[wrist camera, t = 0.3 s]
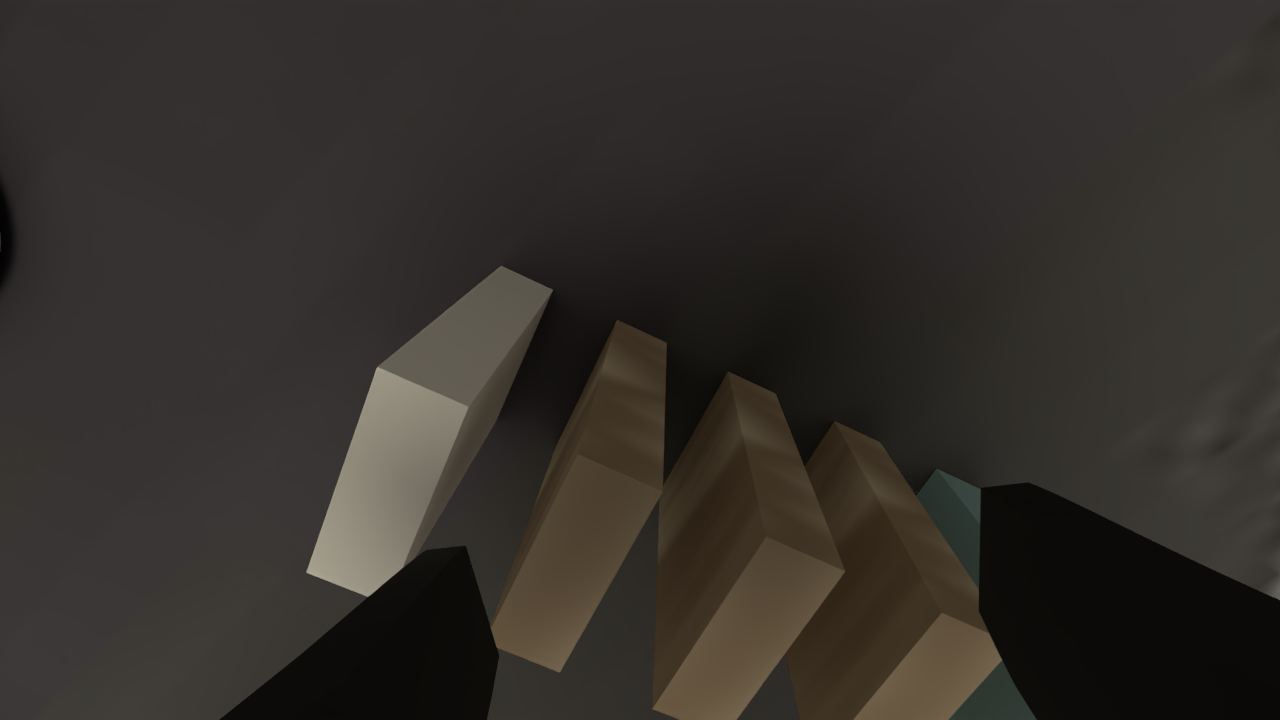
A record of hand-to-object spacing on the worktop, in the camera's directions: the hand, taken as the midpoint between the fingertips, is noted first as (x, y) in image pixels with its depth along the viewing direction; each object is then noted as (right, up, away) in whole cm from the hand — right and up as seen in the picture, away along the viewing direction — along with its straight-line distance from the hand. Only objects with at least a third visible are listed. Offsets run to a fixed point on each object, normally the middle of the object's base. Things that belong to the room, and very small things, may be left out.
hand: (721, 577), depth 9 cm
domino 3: (+1, 0, +10) cm, 11 cm away
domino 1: (-5, +3, +10) cm, 12 cm away
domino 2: (-2, +2, +10) cm, 11 cm away
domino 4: (+4, -1, +11) cm, 12 cm away
